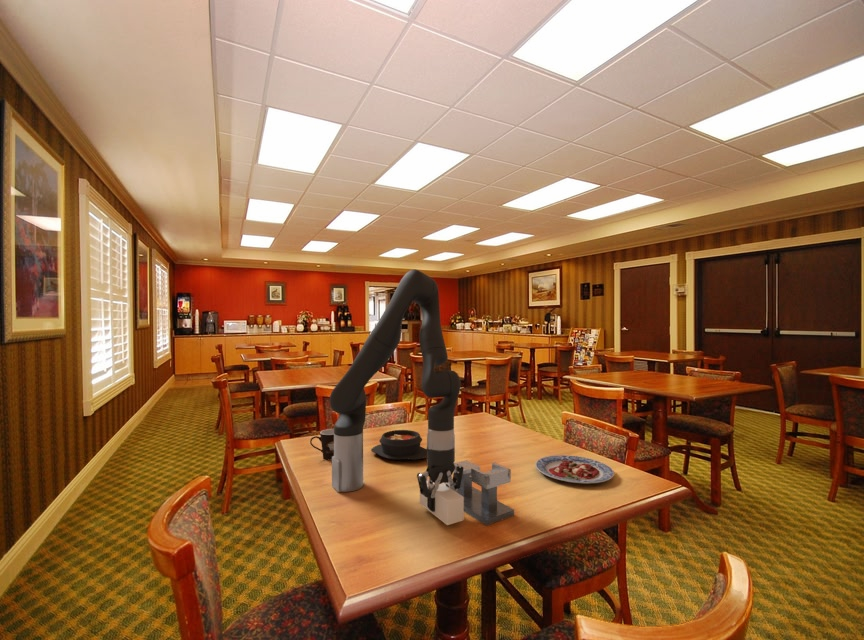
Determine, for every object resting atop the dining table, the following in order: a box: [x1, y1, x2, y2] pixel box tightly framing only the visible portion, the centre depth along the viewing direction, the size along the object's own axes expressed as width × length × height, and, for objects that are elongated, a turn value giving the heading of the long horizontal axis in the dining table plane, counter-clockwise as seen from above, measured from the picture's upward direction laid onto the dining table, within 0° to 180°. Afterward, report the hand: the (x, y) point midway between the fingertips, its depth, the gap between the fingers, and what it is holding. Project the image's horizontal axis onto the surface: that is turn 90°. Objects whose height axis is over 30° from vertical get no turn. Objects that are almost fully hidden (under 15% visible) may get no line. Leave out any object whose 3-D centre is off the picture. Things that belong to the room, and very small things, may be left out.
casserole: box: [370, 429, 427, 461], centre depth 156 cm, size 25×19×8 cm
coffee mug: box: [309, 428, 334, 461], centre depth 154 cm, size 12×9×10 cm
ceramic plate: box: [535, 454, 615, 484], centre depth 137 cm, size 26×26×3 cm
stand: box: [454, 460, 515, 526], centre depth 113 cm, size 10×20×12 cm, turn 32°
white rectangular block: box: [419, 479, 465, 526], centre depth 106 cm, size 5×14×6 cm, turn 32°
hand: (440, 507), depth 106 cm, fingers closed on white rectangular block, 5 cm apart
